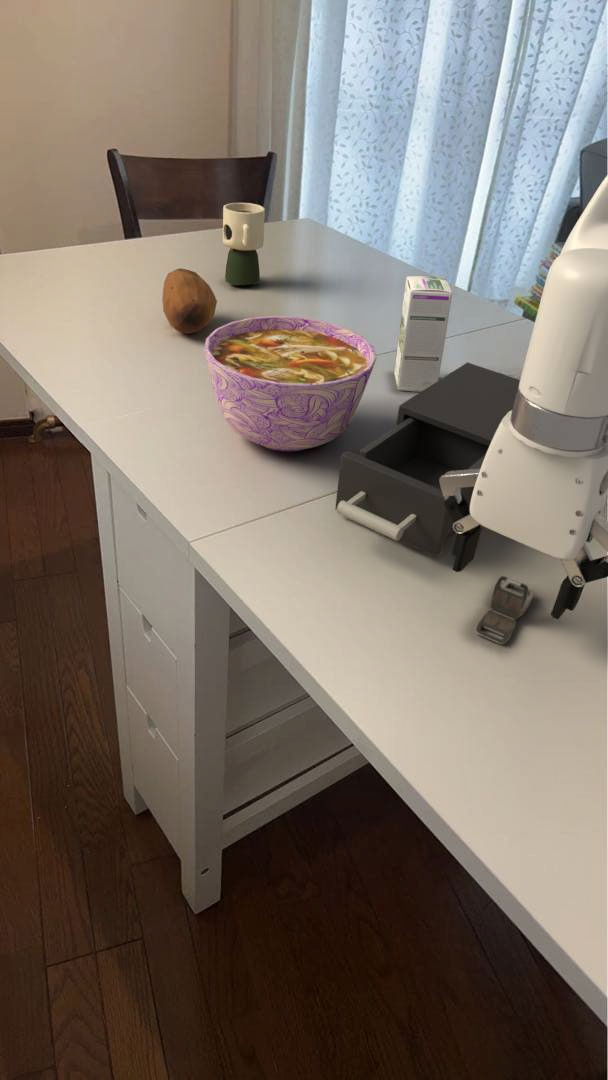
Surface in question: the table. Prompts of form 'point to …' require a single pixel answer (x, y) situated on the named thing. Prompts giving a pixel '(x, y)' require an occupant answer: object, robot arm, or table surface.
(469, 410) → the small drawer cabinet
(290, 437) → the bowl of food
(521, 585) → the strap clip
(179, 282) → the potato
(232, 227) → the character mug
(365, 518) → the open drawer with handle
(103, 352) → the table surface
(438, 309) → the syrup box
